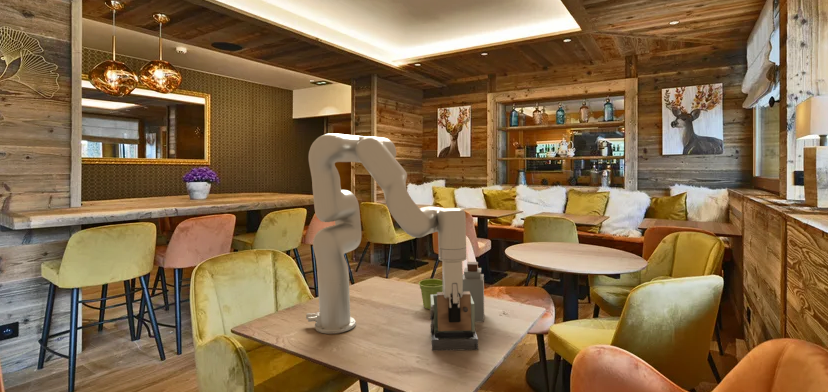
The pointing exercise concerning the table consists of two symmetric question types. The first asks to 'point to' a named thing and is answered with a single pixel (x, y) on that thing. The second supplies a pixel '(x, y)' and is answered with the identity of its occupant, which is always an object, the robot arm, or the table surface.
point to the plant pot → (430, 290)
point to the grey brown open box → (452, 338)
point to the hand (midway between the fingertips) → (454, 319)
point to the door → (464, 313)
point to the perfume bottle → (475, 288)
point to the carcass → (435, 320)
